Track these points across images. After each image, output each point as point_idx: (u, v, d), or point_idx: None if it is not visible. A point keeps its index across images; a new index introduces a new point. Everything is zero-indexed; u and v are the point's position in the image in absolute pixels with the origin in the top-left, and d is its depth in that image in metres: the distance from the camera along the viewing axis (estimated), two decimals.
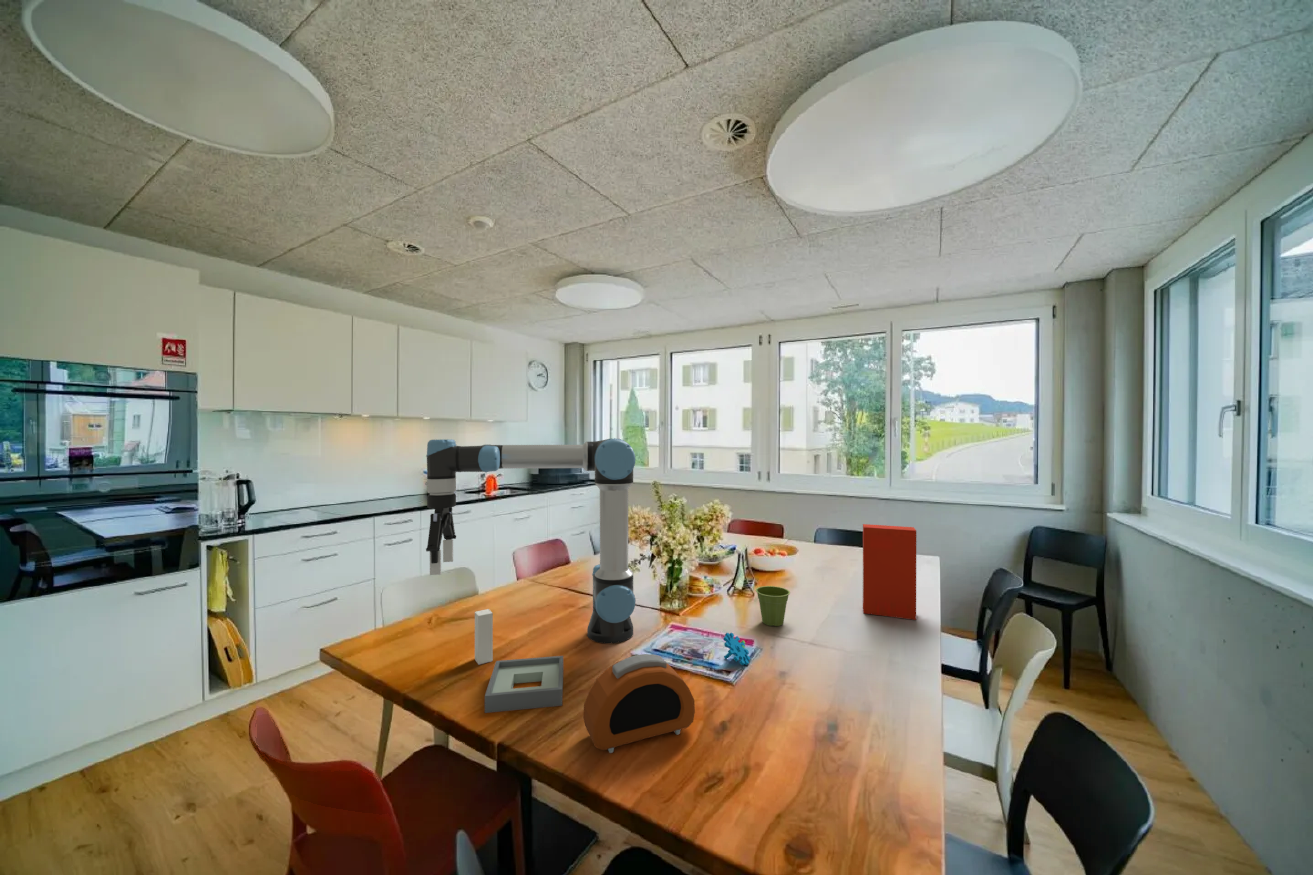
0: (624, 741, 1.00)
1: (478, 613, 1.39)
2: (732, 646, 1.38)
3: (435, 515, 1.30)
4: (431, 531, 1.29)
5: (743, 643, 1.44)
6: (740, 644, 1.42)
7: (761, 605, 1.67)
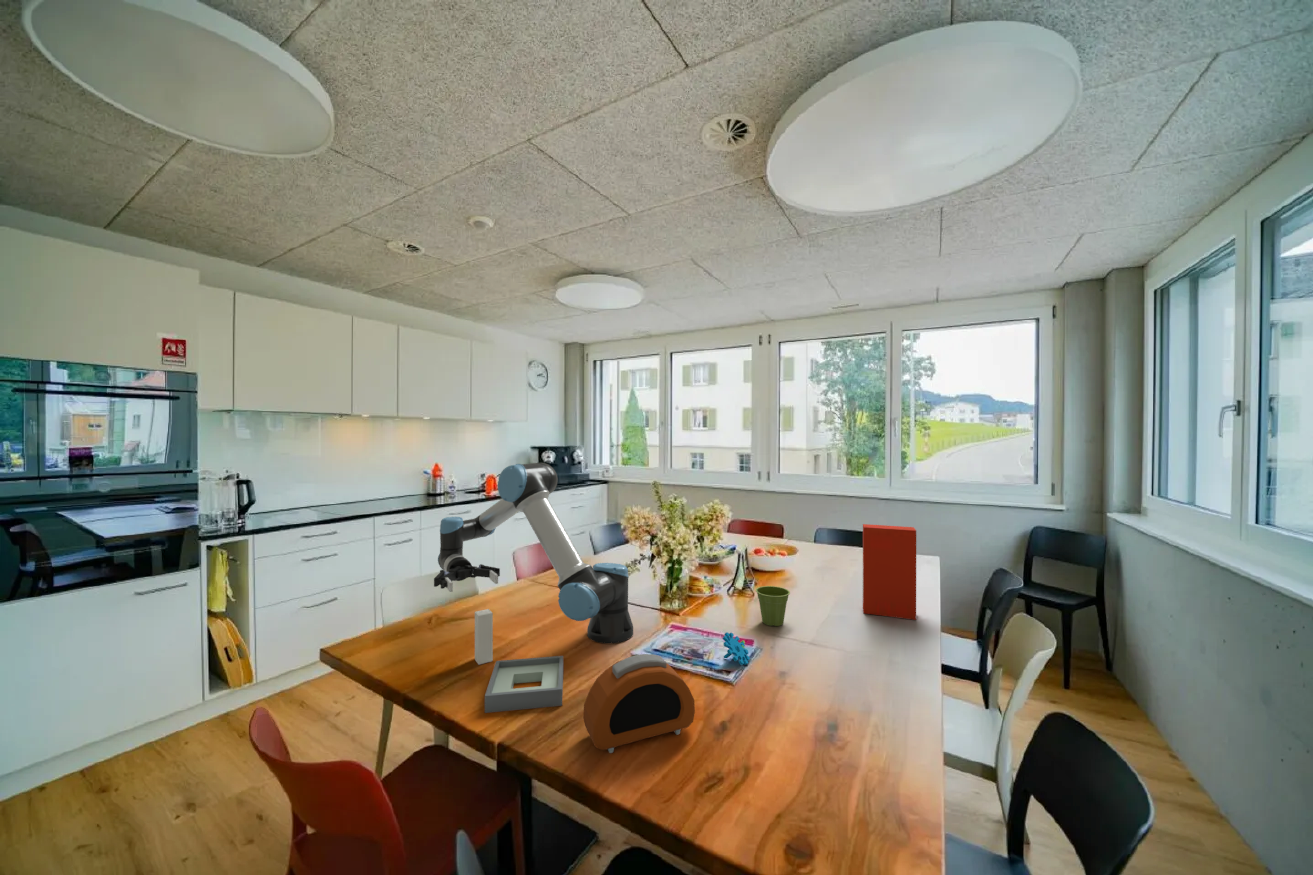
0: (624, 741, 1.00)
1: (478, 613, 1.39)
2: (731, 646, 1.39)
3: None
4: None
5: (743, 643, 1.44)
6: (740, 644, 1.42)
7: (761, 605, 1.67)
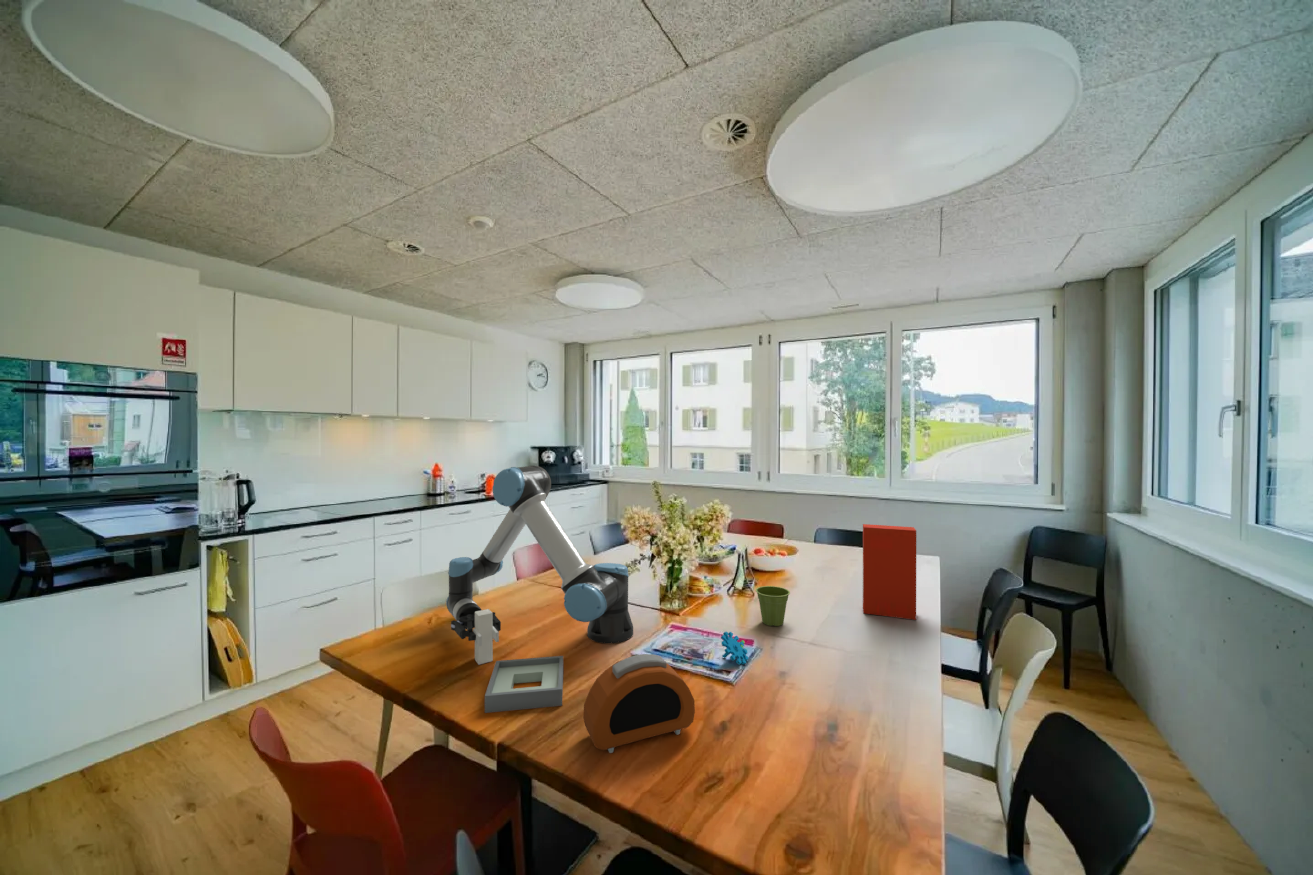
0: (624, 741, 1.00)
1: (478, 613, 1.39)
2: (729, 645, 1.39)
3: (451, 625, 1.45)
4: (457, 631, 1.42)
5: (742, 643, 1.44)
6: (739, 643, 1.43)
7: (761, 605, 1.67)
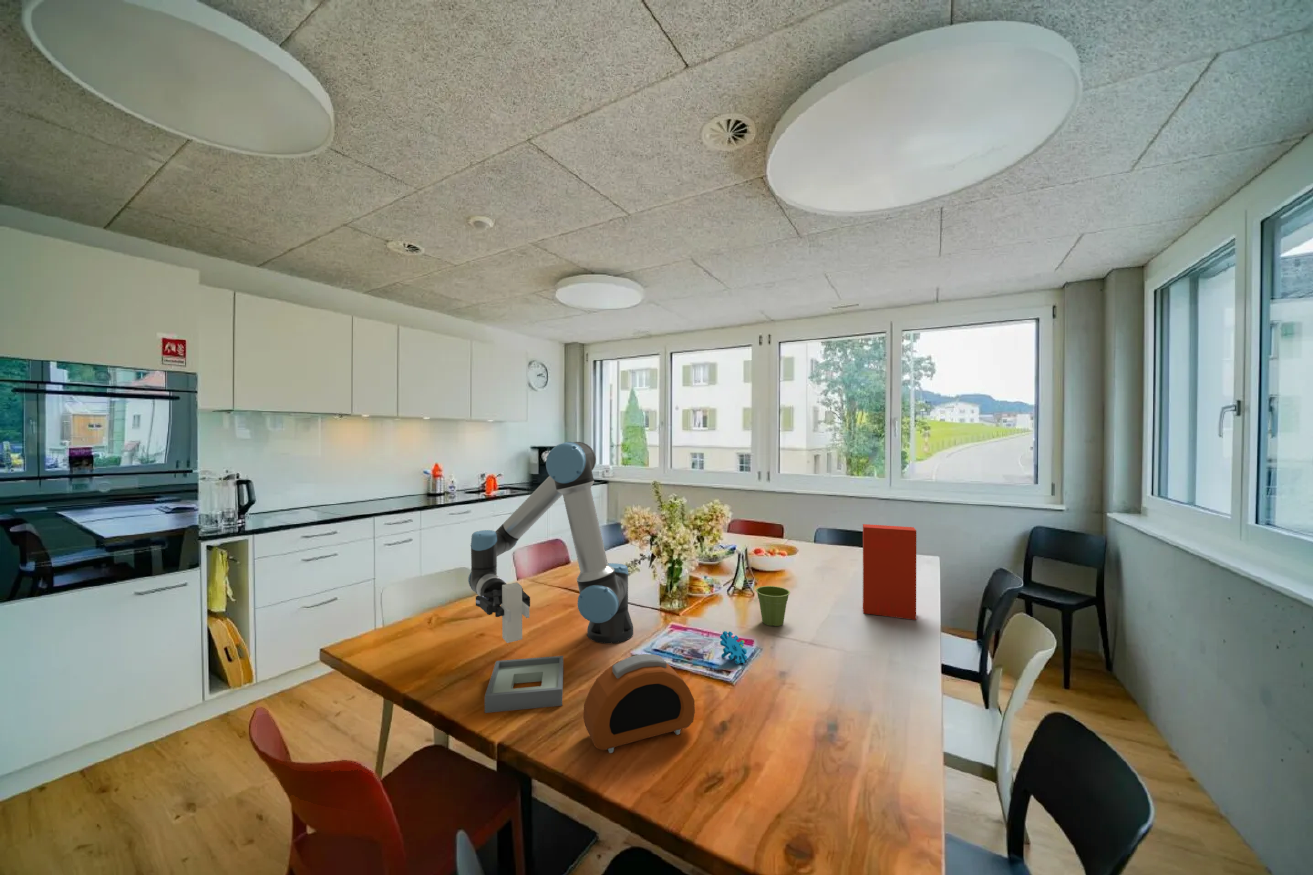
0: (624, 741, 1.00)
1: (506, 586, 1.26)
2: (728, 645, 1.39)
3: (476, 601, 1.32)
4: (482, 607, 1.29)
5: (742, 642, 1.44)
6: (738, 643, 1.43)
7: (761, 605, 1.67)
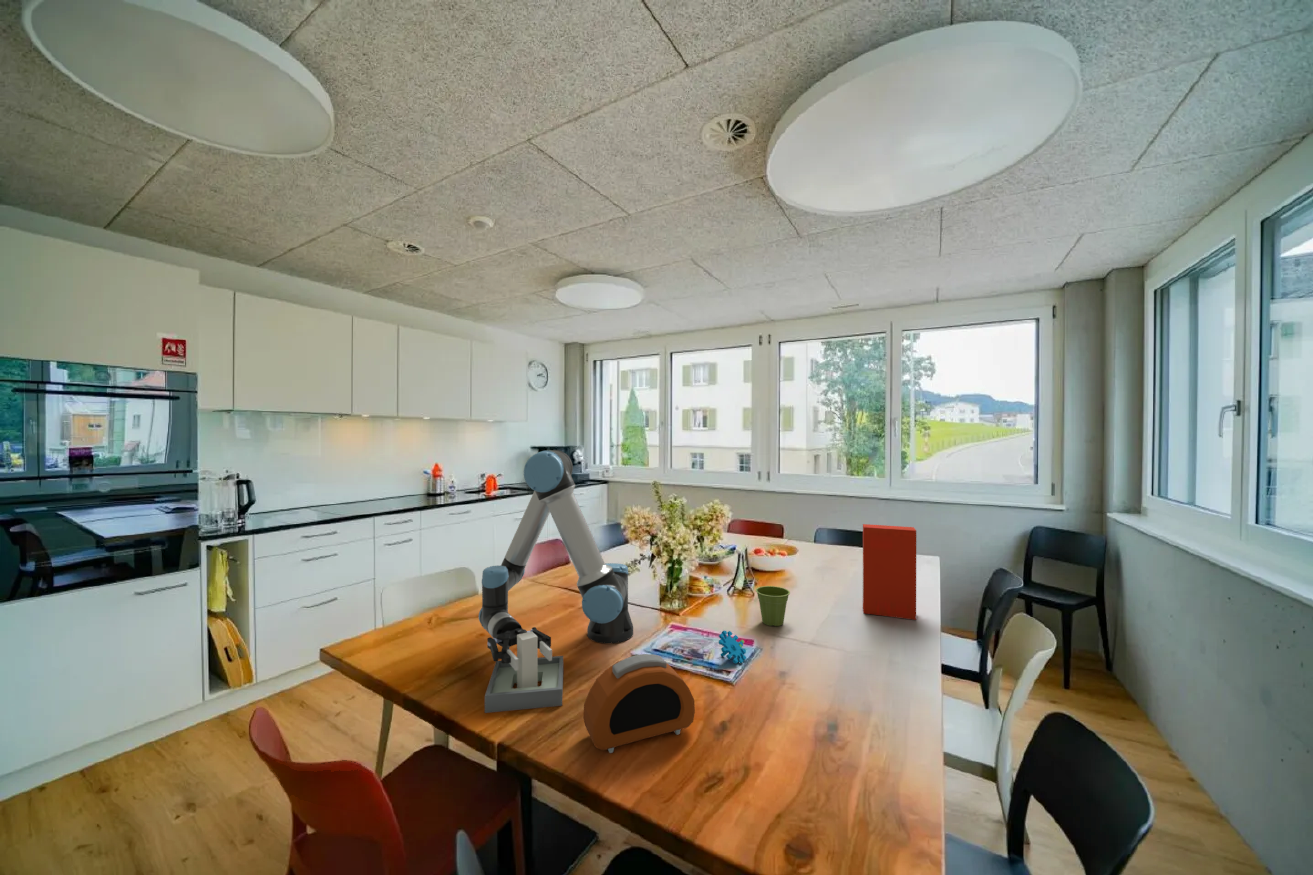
0: (624, 741, 1.00)
1: (521, 637, 1.23)
2: (727, 644, 1.40)
3: (487, 643, 1.30)
4: (491, 651, 1.26)
5: (741, 642, 1.44)
6: (737, 643, 1.43)
7: (761, 605, 1.67)
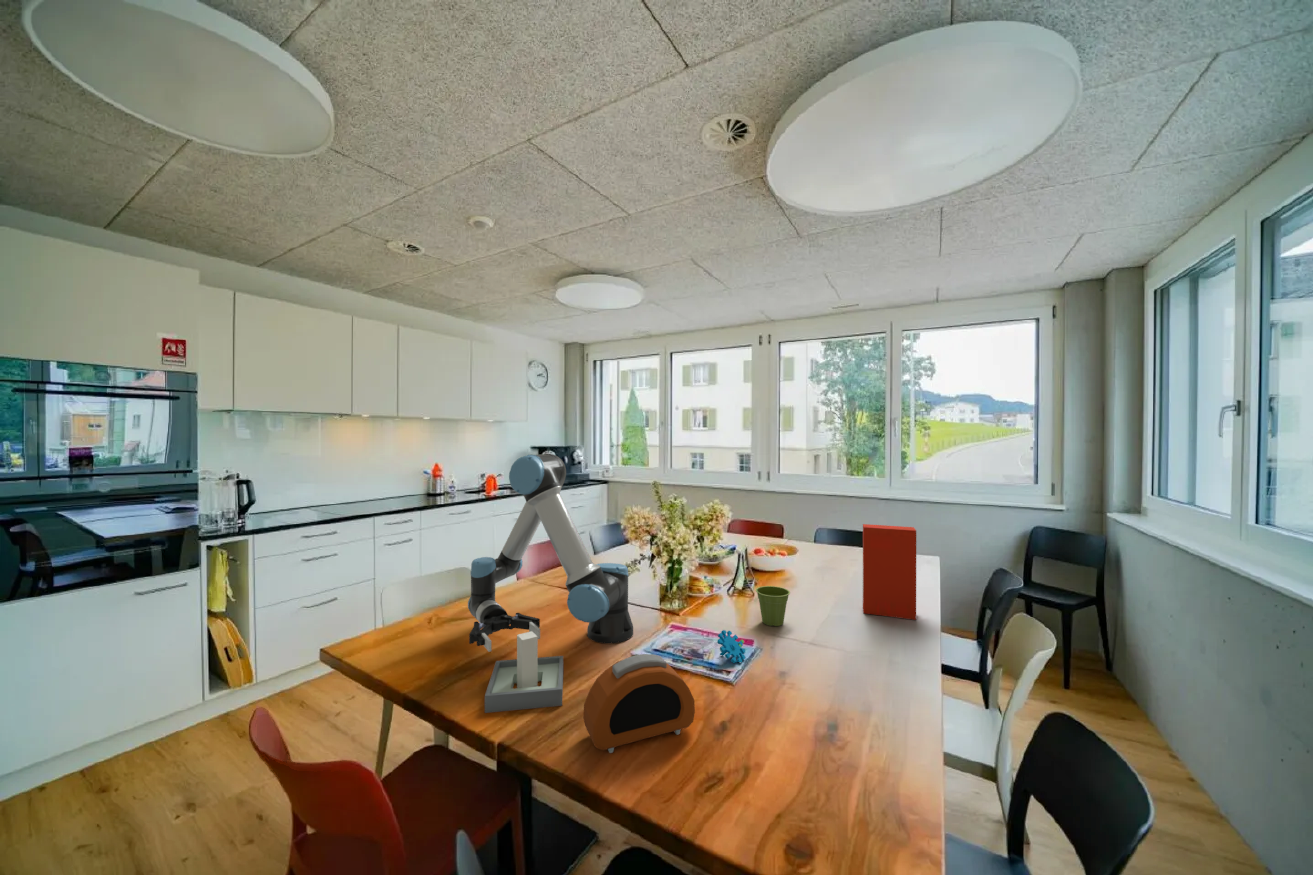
0: (624, 741, 1.00)
1: (521, 637, 1.23)
2: (725, 643, 1.40)
3: None
4: None
5: (741, 642, 1.44)
6: (737, 643, 1.43)
7: (761, 605, 1.67)
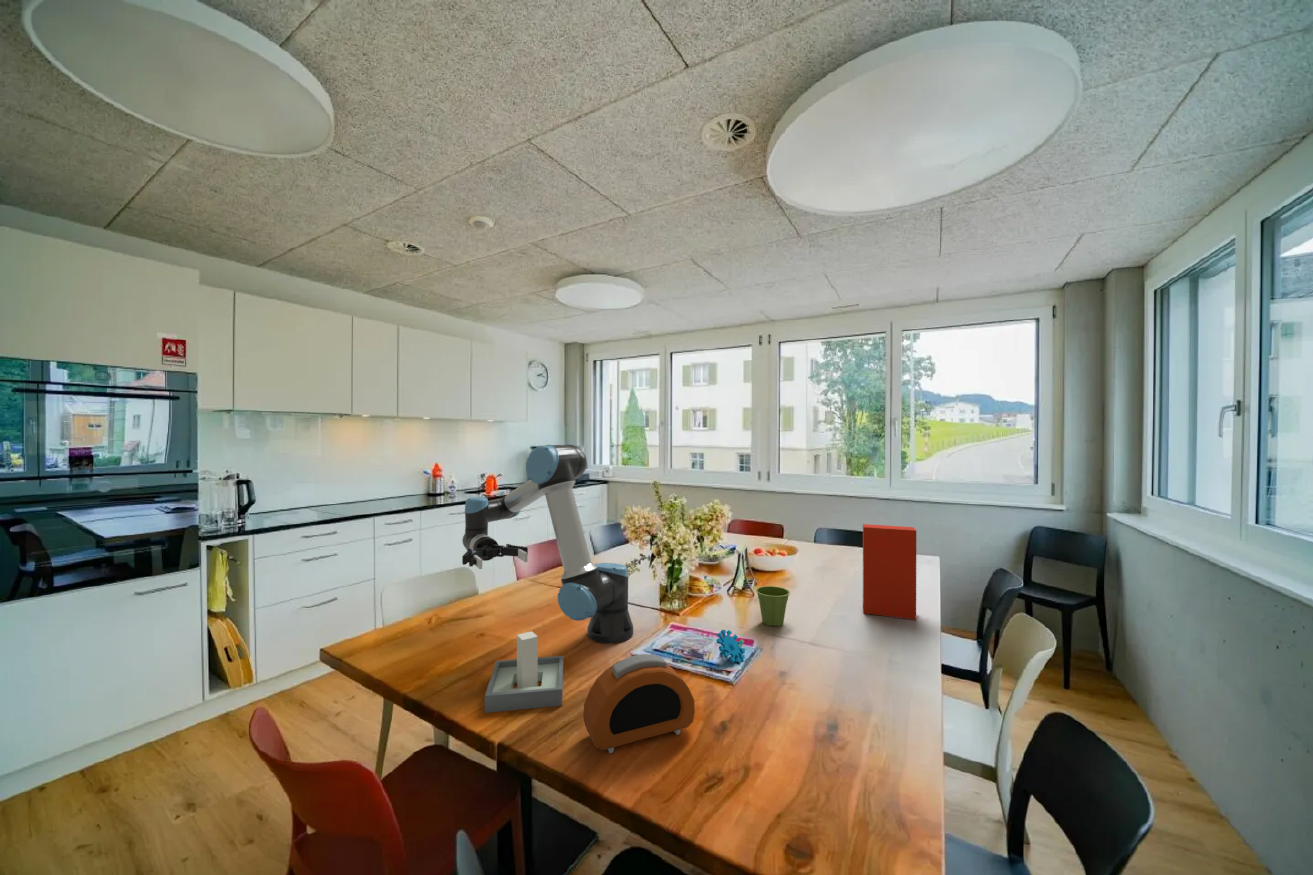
0: (624, 741, 1.00)
1: (521, 637, 1.23)
2: (725, 643, 1.40)
3: None
4: None
5: (741, 642, 1.45)
6: (736, 642, 1.43)
7: (761, 605, 1.67)
